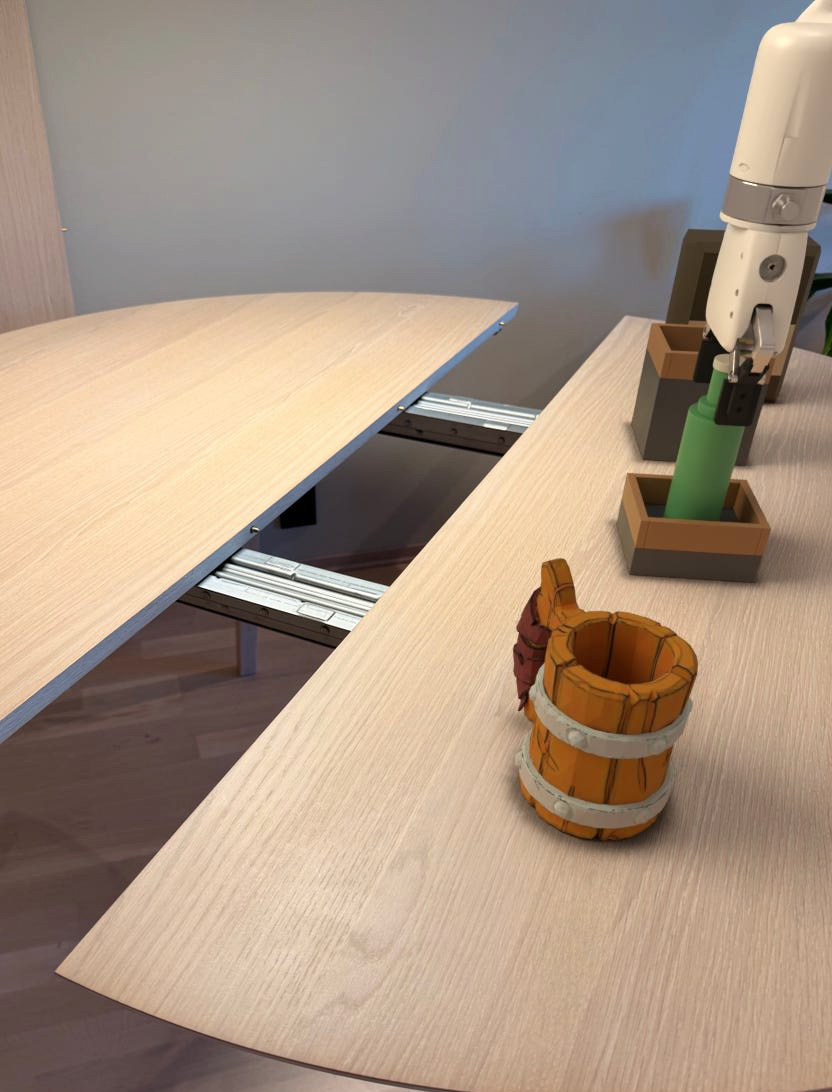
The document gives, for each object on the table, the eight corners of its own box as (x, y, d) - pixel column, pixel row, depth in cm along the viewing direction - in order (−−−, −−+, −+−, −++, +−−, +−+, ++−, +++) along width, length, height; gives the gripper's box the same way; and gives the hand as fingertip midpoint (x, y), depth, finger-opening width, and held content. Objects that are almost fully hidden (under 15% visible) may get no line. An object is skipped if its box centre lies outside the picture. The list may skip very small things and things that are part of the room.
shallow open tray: (732, 531, 103) (746, 479, 99) (754, 582, 95) (771, 528, 91) (616, 523, 104) (626, 472, 100) (629, 574, 96) (640, 520, 92)
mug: (572, 867, 66) (611, 695, 57) (455, 718, 78) (472, 557, 69) (700, 821, 69) (756, 652, 61) (570, 686, 81) (600, 528, 73)
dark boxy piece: (649, 377, 137) (690, 184, 122) (765, 382, 137) (820, 188, 122) (661, 399, 131) (705, 199, 116) (782, 405, 130) (842, 204, 115)
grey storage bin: (727, 430, 123) (754, 327, 116) (745, 465, 115) (776, 358, 108) (630, 424, 124) (651, 322, 116) (642, 459, 116) (665, 352, 108)
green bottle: (710, 515, 99) (754, 350, 89) (721, 541, 95) (768, 371, 85) (658, 511, 100) (696, 347, 90) (666, 537, 96) (707, 368, 85)
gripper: (852, 231, 72) (786, 445, 83) (790, 182, 86) (740, 370, 96) (749, 226, 73) (696, 440, 83) (703, 178, 87) (662, 366, 97)
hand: (719, 402), depth 90 cm, fingers open, 9 cm apart
